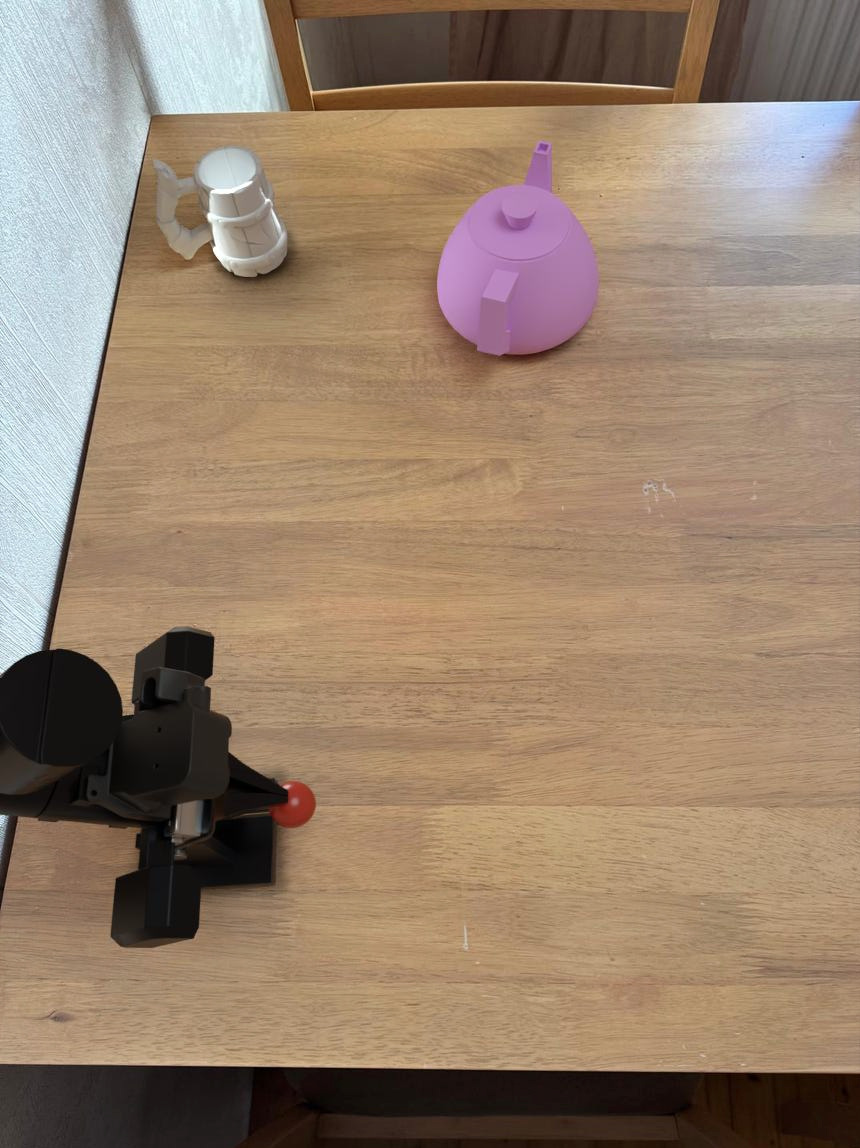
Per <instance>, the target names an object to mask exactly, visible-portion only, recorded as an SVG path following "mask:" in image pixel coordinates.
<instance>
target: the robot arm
mask: <svg viewBox="0 0 860 1148" xmlns="http://www.w3.org/2000/svg"><path fill="white" fill-rule="evenodd" d="M215 639H216V638H215V636H214V634H213V633H212V632H211V631H208V630H207V631H206V630H203V629H200V628H195V627H192V626H187V625H186V626H173V627H172V628H171V629H169V630H168V631H167V632H165V633H163V634H162V635H161V636H159V637H158V638H156V639H155V640H154V641H152V642H151V643H149V644H148V645H146V646H145V647H143V648H142V649H141V650H139V651H138V652H137V653H135V656H134V669H133V679H132V689H131V690H132V692H131V700H130V701H131V704H132V705H133V706H134V707H133V714H125V715H124V710H123V703H122V696H121V693H120V691H119V689H118V686H117V684H116V683H115V681H114V679H113V677H112V676H111V675H110V673H109V672H108V671H107V670H106V669H104V667H103V666H102V665H101V664H100V663H98V662H97V661H96V660H94V659H93V658H91V657H89V656H87V655H86V654H83V653H81V652H78V651H75V650H72V649H67V648H61V647H58V648H56V649H44V650H43V649H42V650H37V651H34V652H33V653H29V654H26V655H24V656H23V657H21V658H20V659H18V660H17V661H15V662H14V663H12V664H11V665H10V666H9V667H8V668H6V669H5V670H4V671H3V672H2V673H0V816H9V817H19V818H28V819H37V822H46V823H58V822H60V821H61V822H71V823H80V824H81V823H82V824H89V825H90V824H91V825H92V824H93V825H99V826H100V825H102V826H108V828H110V829H121V830H125V829H128V828H131V829H141V830H140V831H141V832H140V833H141V840H140V850H139V854H138V855H139V856H138V868H137V870H133V871H131V872H128V873H125V874H122V875H120V876H119V875H118V876H116V877H115V879H114V891H113V902H112V913H111V924H110V938H111V940H112V941H114V942H115V943H116V944H117V945H118V946H119V947H120V948H123V949H124V948H125V949H155V948H158V947H159V948H160V947H163V946H164V947H165V946H167V945H173V944H176V943H182V942H184V941H185V942H186V941H189V940H194V939H195V936H196V935H197V932H198V930H199V928H200V919H201V918H200V915H201V897H202V890H201V881H202V880H201V879H200V878H199V876H198V875H197V874H196V873H195V872H194V870H193V869H192V868H191V867H190V865H176V864H174V852H175V851H177V850H180V849H183V848H186V847H188V846H191V845H194V844H196V843H199V842H202V841H205V840H207V839H209V838H210V837H211V836H212V835H213V833H214V830H215V822H216V821H219V820H223V819H227V818H231V817H235V816H239V815H243V814H248V813H252V812H256V811H260V810H264V809H268V808H272V807H277V806H280V805H283V804H286V803H288V794H289V792H288V790H287V789H285V788H283V787H282V786H280V784H279V783H278V784H277V783H275V782H273V781H272V780H270V779H268V777H267V776H266V775H263V774H261V773H260V772H258V771H257V770H255V769H253V768H252V767H250V766H248V765H247V764H245V763H244V762H243V761H241V760H240V759H239V758H237V757H236V756H235V755H234V754H232V753H231V752H230V751H229V750H230V749H229V747H230V743H229V742H230V738H231V737H232V734H233V725H232V720H231V719H230V717H228V716H227V715H225V714H222V713H220V712H217V711H214V710H212V709H211V699H212V688H211V687H210V686H209V685H208V686H207V685H206V681H208V680H209V678H211V677H212V676H213V673H214V659H215V658H214V657H215Z"/></svg>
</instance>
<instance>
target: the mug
mask: <svg viewBox="0 0 860 1148" xmlns="http://www.w3.org/2000/svg"><path fill="white" fill-rule="evenodd" d="M151 163H152V168H153V171H154V172H155V175H156V182H155V184H156V217H155V218H156V223H157V225H158V227H159V229H160V230H161V232H162V233H163V236H164V238H165V241H166V242H167V245H168V246H169V247H170V248H171V249H172V251H174V252H175V253H179V254H180V255H181V256H182V257H183V258H184V259H185V260H191V259H192V258H194V256H195V254H196V252H197V251H198V250H199V248H201V247H202V246H204V245H205V244H207V243H208V242H209V243H210V247H211V248H212V251H213V253H214V255H215V257H216V259H218V261H219V262H220V263H221V265H222V266H223V267H224V269H226V270H227V271H228V272H230V273H234V275H235V276H239V277H244V278H255V277H258V274H262V275H266V274H268V273H270V272H272V271H273V270H275V269H277V268H278V267H279V266H280V265H281V264H282V263H283V261H284V258H286V256H287V255H288V254H287V253H288V239H289V237H288V230H287V227H286V226H285V222H284V221H283V219H282V218H281V217H280V216H279V214H278V211H277V207H276V205H275V195H276V192H275V190H274V187H273V185H272V184H271V182H270V180H269V179H268V178H267V177H266V173H265V170H264V168H263V164H262V161H261V160H260V158H259V156H258V155H257V154H256V153H255V152H254V151H253V150H251V148H248V147H246V146H242V145H235V144H228V145H227V144H226V145H225V146H221V145H220V146H217V147H214V148H212V149H210V150H209V151H207V152H206V153H204V154H203V155H201V156H200V158H199V159H198V160H197V161H196V164H195V165H194V168H193V176H190V177H189V176H188V177H184V178H180V179H178V177H177V175H176V173H175V171H174V170H173V168H171V166H169V165H168V164H166V163H165V162H164V161H162V160H159V159H157V158H153V159H152V160H151ZM197 193H198V206H199V209H200V211H201V212H202V215H203V216H204V217H205V219H206V220H207V221H205V222H203V223H201V224H200V225H198V226H196V227H194V228H193V229H192V230H190V229H189V228H187V227H184V226H183V225H182V224H180V223H179V221H178V219H177V217H176V213H175V211H176V208H177V206H178V203H179V201H180V197H182V196H185V195H190V194H197Z"/></svg>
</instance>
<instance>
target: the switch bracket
mask: <svg viewBox="0 0 860 1148" xmlns="http://www.w3.org/2000/svg"><path fill="white" fill-rule="evenodd" d="M267 778H268V777H267ZM268 779H270V780H272V781H273V782H275V783H277V784H278V785H279V783H278V780H277V779H276V778H275V777H269V778H268ZM277 832H278V824H277V823H276V822H275V821H274V820H273V819H272V817H271V816H262V817H250V818H238V819H227V820H219V821H216V822H215V830H214V833H213V835H212V836H211V837H210V838H209V839H207V840H205V841H202V842H199V843H196V844H194V845H191V846H188V847H186V848H183V849H180V850H177V851H175V852H174V864H176V865H190V867H191V868H192V869H193V870H194V872H195V873H196V874H197V875H198V876H199V878H200V879H201V880H202V881H201V891H209V890H221V889H235V888H251V887H252V888H253V887H265V886H276V879H277V878H276V877H277V837H278V836H277V834H278V833H277ZM140 840H141V832H137V833H135V843H134V848H135V849H137V850H139V851H140Z"/></svg>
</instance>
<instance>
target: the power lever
mask: <svg viewBox="0 0 860 1148" xmlns="http://www.w3.org/2000/svg"><path fill="white" fill-rule="evenodd" d="M279 785H280V786H282V787H283V788H285V789H287V790H288V792H289V794H288V803H286V804H283V805H280V806H277V807H272V808H268V809H264V810H260V811H256V812H252V813H248V814H243V815H239V816H235V817H231V818H227V819H238V818H250V817H262V816H271V817H272V819H273V820H274V821H275V822H276V823H277V826H278V825H279V826H280V827H283V828H286V829H297V828H300V827H303V826H304V825H305V824H307V823H308V822H309V821H310V820H311V819H312V818H313V816H314V814H315V812H316V808H317V801H316V800H317V799H316V796H315V794H314V792H313V790H312V789H311V788H310V786H308V785H307V784H305V783H303V782H301V781H297V780H289V781H284V782H282V783H280V784H279ZM227 819H223V820H227Z"/></svg>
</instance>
